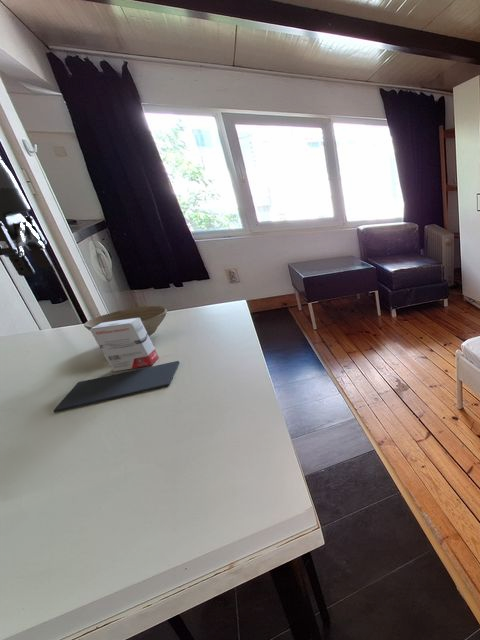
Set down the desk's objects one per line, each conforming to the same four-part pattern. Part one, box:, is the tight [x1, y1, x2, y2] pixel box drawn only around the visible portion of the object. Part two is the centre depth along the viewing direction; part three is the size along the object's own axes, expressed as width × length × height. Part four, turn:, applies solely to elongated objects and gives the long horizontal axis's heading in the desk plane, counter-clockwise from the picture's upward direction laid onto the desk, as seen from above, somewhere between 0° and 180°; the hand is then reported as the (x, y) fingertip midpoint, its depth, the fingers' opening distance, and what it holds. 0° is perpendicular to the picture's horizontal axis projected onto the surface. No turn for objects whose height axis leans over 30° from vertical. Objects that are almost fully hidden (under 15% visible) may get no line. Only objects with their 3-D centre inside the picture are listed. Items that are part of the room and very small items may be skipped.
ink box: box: [89, 318, 160, 372], centre depth 92 cm, size 8×5×12 cm, turn 109°
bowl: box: [83, 305, 168, 337], centre depth 107 cm, size 18×18×8 cm
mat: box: [53, 360, 180, 413], centre depth 85 cm, size 20×13×1 cm, turn 117°
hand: (37, 270), depth 77 cm, fingers open, 8 cm apart
